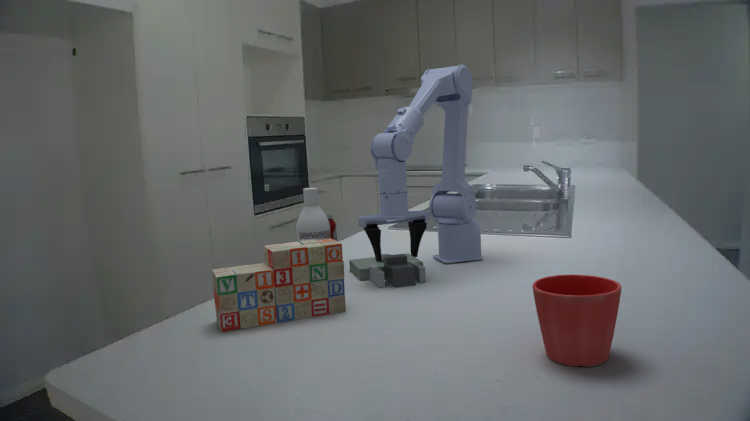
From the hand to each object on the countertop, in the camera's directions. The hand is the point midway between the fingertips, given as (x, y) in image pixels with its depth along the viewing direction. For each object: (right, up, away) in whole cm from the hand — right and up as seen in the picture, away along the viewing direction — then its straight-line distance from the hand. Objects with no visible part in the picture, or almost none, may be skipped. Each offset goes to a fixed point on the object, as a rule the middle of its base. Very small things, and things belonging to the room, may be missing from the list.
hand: (396, 258), depth 116 cm
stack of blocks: (-20, -9, -18) cm, 29 cm away
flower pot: (+22, -9, -41) cm, 48 cm away
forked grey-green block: (-1, -4, +5) cm, 7 cm away
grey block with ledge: (+1, -5, -1) cm, 5 cm away
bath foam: (-16, -6, +1) cm, 17 cm away
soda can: (-16, -4, +15) cm, 23 cm away
